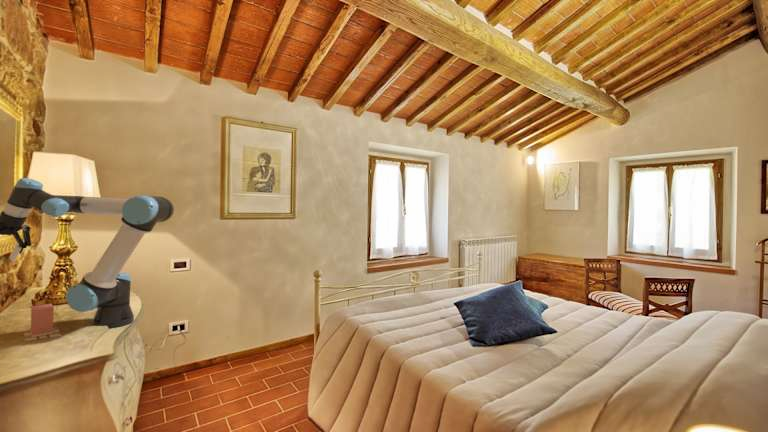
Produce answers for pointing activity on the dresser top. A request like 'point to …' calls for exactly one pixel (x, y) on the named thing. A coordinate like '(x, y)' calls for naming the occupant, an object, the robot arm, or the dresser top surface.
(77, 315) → the dresser top surface
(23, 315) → the dresser top surface
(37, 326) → the sanding block
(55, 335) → the board
